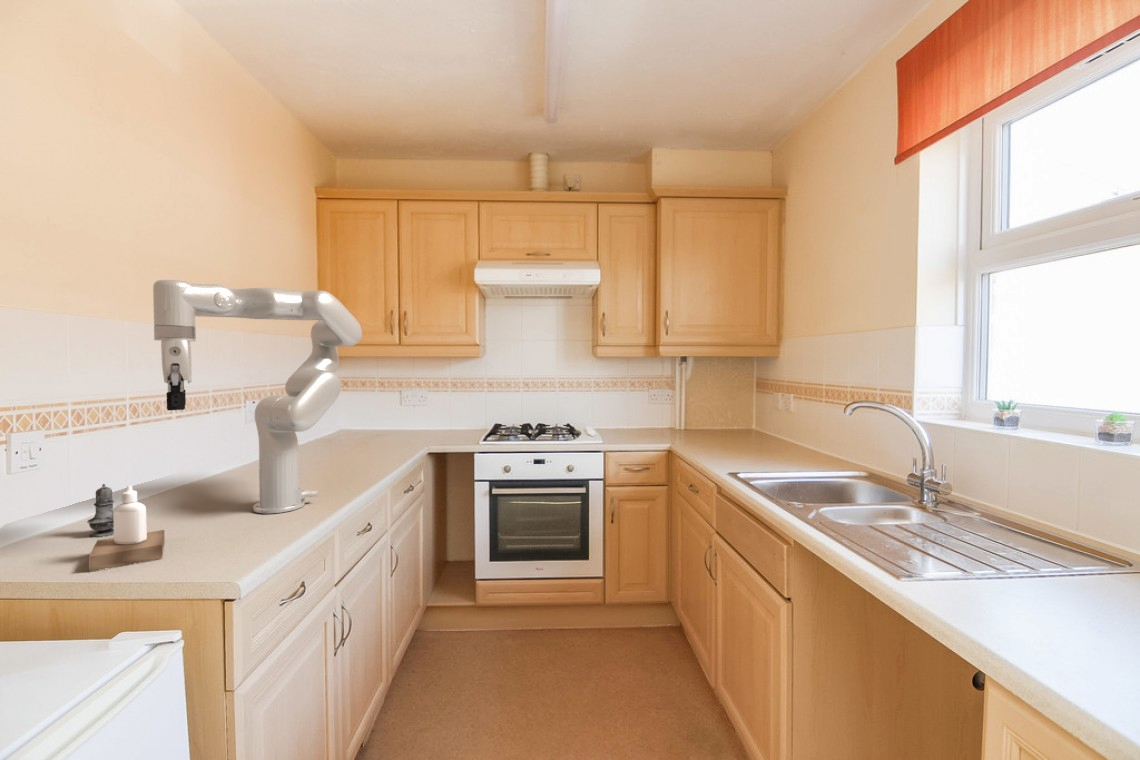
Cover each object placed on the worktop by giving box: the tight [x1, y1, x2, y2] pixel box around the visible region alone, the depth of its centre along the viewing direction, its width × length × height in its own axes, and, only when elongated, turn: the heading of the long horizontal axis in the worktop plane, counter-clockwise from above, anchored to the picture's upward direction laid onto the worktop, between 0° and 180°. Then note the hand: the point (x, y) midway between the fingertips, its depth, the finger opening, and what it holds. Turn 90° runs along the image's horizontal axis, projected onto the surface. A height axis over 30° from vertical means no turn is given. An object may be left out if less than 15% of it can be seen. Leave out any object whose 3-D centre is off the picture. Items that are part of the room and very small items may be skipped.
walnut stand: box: [88, 529, 166, 573], centre depth 103 cm, size 11×11×3 cm
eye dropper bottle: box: [113, 485, 148, 545], centre depth 103 cm, size 4×6×12 cm
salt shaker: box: [87, 483, 115, 538], centre depth 116 cm, size 6×6×12 cm
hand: (176, 408), depth 114 cm, fingers open, 9 cm apart
